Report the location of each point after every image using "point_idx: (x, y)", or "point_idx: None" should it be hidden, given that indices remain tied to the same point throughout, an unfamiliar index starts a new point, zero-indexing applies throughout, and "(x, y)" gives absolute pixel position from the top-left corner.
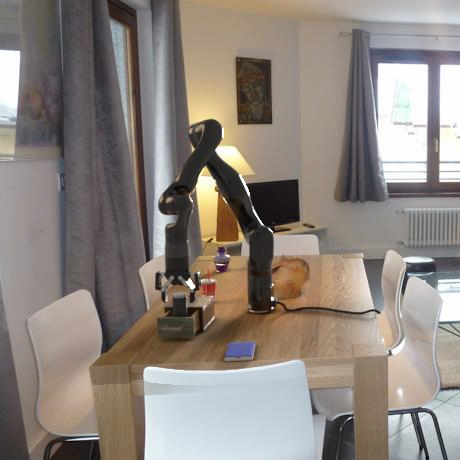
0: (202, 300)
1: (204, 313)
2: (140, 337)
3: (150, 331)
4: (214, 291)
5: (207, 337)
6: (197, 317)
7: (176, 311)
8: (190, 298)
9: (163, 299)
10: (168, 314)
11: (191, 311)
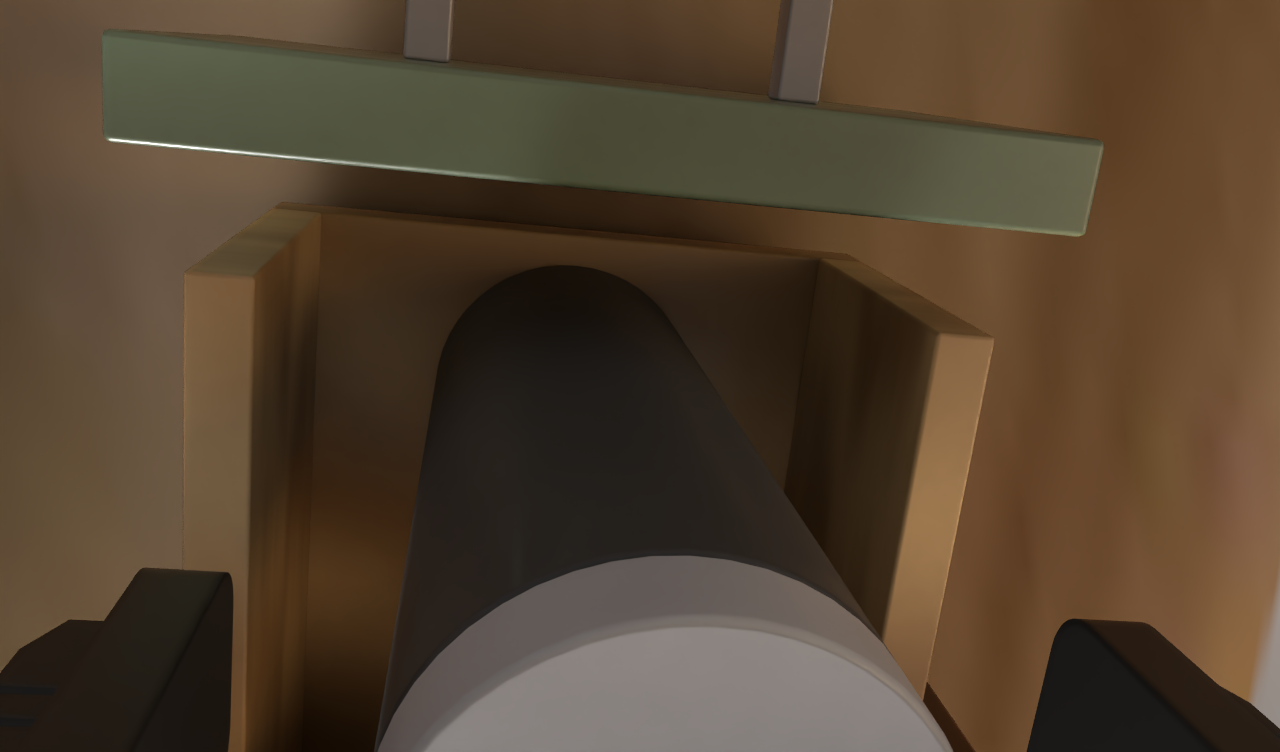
0: None
1: None
2: (1176, 335)
3: (1064, 602)
4: None
5: (54, 235)
6: None
7: (663, 386)
8: (148, 656)
9: (1198, 675)
10: (873, 592)
11: None
